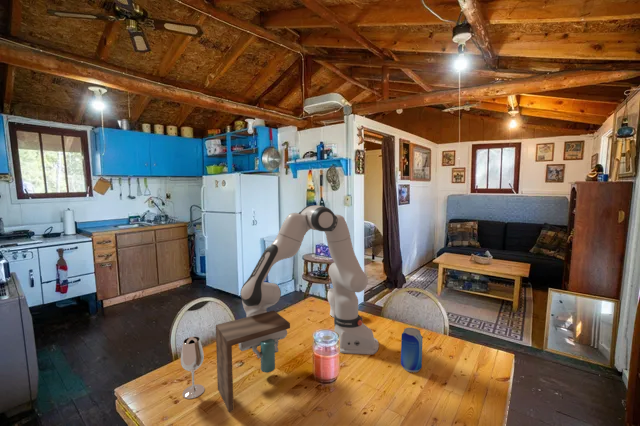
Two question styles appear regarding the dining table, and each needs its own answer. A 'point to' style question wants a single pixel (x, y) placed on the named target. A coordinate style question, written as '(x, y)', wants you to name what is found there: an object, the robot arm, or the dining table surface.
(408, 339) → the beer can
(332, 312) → the cup
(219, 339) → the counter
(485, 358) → the dining table surface
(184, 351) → the wineglass
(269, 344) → the teal cylinder
